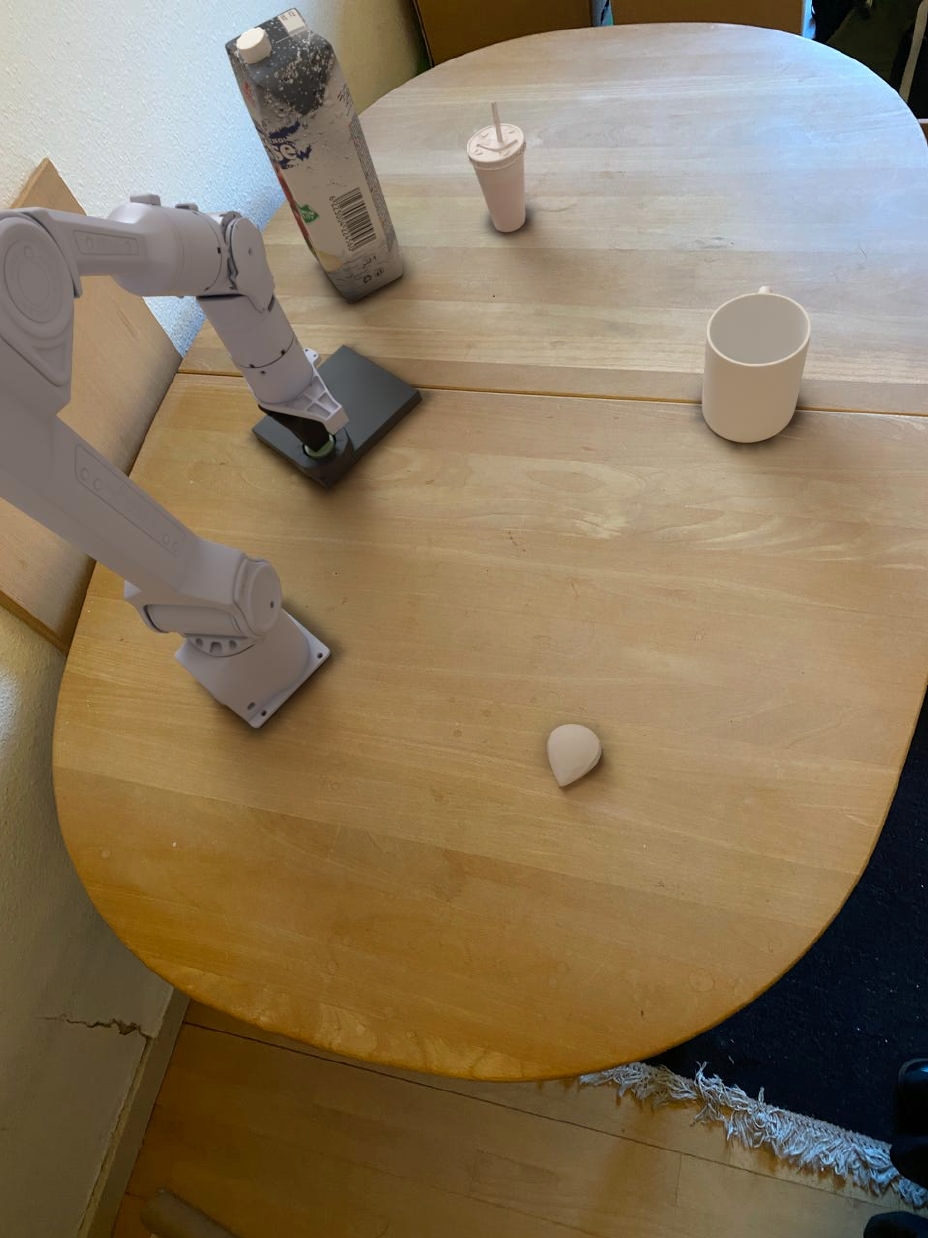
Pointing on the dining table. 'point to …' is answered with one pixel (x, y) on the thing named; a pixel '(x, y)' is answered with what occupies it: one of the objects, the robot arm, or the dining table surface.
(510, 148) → the smoothie
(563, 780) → the beige rounded teardrop
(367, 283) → the juice carton
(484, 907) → the dining table surface
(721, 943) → the dining table surface
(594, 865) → the dining table surface
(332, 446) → the button
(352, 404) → the scale
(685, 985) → the dining table surface
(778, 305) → the cup
